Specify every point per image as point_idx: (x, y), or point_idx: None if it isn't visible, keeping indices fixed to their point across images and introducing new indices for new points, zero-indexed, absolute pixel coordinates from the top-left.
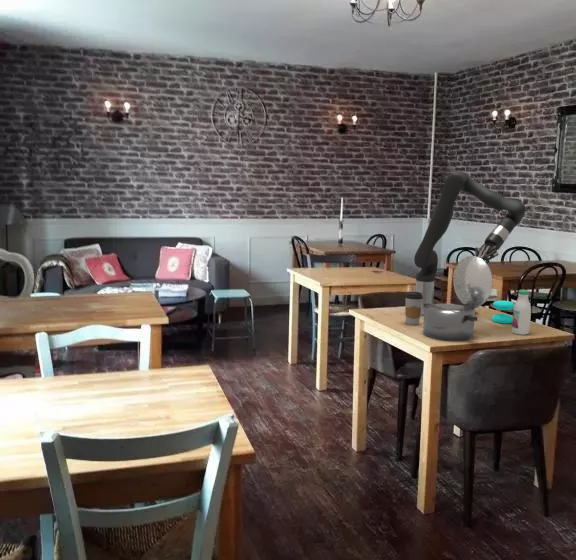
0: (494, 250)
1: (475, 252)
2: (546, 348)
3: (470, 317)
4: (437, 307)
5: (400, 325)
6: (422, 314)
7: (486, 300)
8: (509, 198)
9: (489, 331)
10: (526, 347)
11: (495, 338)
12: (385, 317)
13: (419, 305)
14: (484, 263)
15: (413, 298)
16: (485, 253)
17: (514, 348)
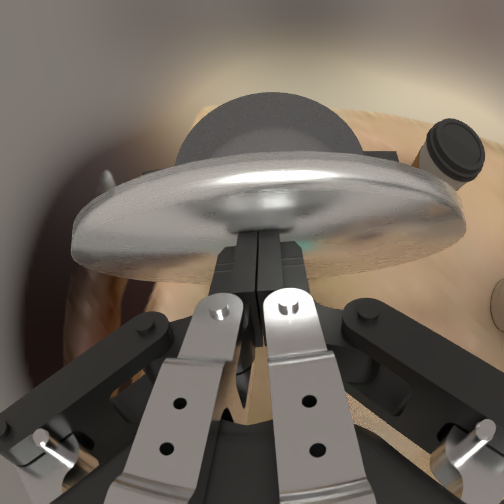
0: (47, 492)
1: (450, 343)
2: (71, 355)
3: (151, 171)
4: (302, 136)
5: (406, 150)
6: (495, 287)
7: (173, 282)
8: None
9: (258, 363)
10: (91, 318)
11: (183, 313)
12: (485, 172)
13: (422, 165)
14: (85, 209)
15: (430, 130)
16: (165, 379)
17: (96, 281)
